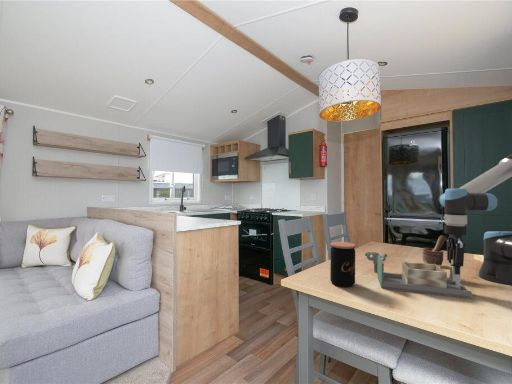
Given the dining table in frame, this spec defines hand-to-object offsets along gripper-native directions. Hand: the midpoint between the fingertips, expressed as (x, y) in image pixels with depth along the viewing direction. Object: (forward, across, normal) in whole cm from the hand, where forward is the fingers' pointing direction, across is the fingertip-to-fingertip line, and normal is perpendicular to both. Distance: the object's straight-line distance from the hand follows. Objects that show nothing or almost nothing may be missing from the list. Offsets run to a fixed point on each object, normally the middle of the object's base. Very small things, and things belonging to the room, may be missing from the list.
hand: (454, 280), depth 109 cm
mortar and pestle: (+5, -20, -2) cm, 21 cm away
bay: (+5, 0, -13) cm, 14 cm away
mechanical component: (+5, -15, -29) cm, 33 cm away
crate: (+4, 0, -9) cm, 9 cm away
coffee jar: (+5, +8, -45) cm, 46 cm away
